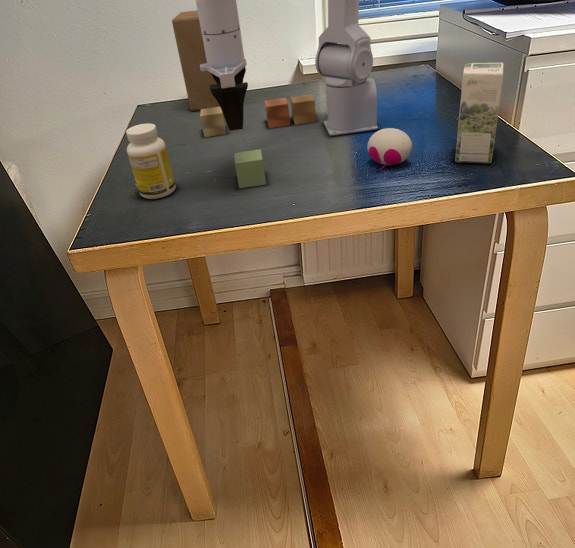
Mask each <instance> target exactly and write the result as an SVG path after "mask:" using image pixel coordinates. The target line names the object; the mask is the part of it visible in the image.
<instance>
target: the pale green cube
mask: <svg viewBox="0 0 575 548" xmlns="http://www.w3.org/2000/svg"><path fill="white" fill-rule="evenodd" d="M233 155H234V167H235V172H236V178H237V184H238V189H245V188H246V189H247V188H252V187H259V186H260V187H261V186H266V185H267V181H266V174H265V166H264V159H263V153H262V149H252V150H244V151H238V152H234V153H233Z"/></svg>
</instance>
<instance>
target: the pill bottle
mask: <svg viewBox="0 0 575 548" xmlns="http://www.w3.org/2000/svg"><path fill="white" fill-rule="evenodd" d="M157 129H158V128H157V126H156V125H155V124H154V123H150V122H149V123H141V124H137V125H133V126H131V127H129V128H128V129H126V131H125V134H126V137H127V140H128V142H129V143H128V145H127V146H126V154H127V157H128V161H129V163H130V167H131V171H132V174H133V177H134V180H135V183H136V187H137V190H138V193H139V195H140V196H141V197H143V198H144V199H148V200H156V199H157V200H158V199H163V198H165V197H167V196H169V195H171V194H173V193H174V192H175V190H176V188H177V187H176V186H177V185H176V180H175V177H174V172H173V169H172V166H171V161H170V157H169V154H168V150H167V146H166V143H165V141H164V140H163V138H161V137H159V136H158V134H159V133H158V130H157Z"/></svg>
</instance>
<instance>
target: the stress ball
mask: <svg viewBox="0 0 575 548" xmlns="http://www.w3.org/2000/svg"><path fill="white" fill-rule="evenodd" d="M367 141H368V142H367V146H366V147H367V152H368V155H369V156H370V158H371V159H372V160H373V161H375V162H376V163H378V164H380V165H383V166H382V167H381V168H380V169H379V171H381V170H382V169H384V168H385V167H386V166H393V165H398V164H401V163H402V162H404V161H405V160H407V159H408V157H410V155H411V153H412V150H413V143H412V139H411V138H410V136H409V135H408V133H406V132H405V131H403V130H401V129H398V128H394V127H386V128H382V129H379V130H377V131H375V132H374V133H373V134H372V135H371V136H370V138H368V140H367Z"/></svg>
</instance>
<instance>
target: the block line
mask: <svg viewBox="0 0 575 548" xmlns="http://www.w3.org/2000/svg"><path fill="white" fill-rule="evenodd" d="M264 106H265V107H264V108H265V114H266V122H267V126H268V129H273V128H281V127H287V126H288V127H289V126H291V121H290V120H291V119H290V111H289V109H290V108H289V102H288V100H287V97H280V98H273V99H265V100H264ZM290 107H291V117H292V121H293V123H294V125H295V126H296V125H304V124H310V123H315V122H317V116H316V115H317V113H316V101H315V98H314V97H313V94H312V93H309V94H302V95H295V96H290ZM199 117H200V123H201V128H202V132H203V138H210V137H216V136H223V135H227V127H226V126H227V125H226V121H225V118H224V115H223V112H222V110H221V108H220V107H214V108H207V109H201V110H200V113H199Z"/></svg>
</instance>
